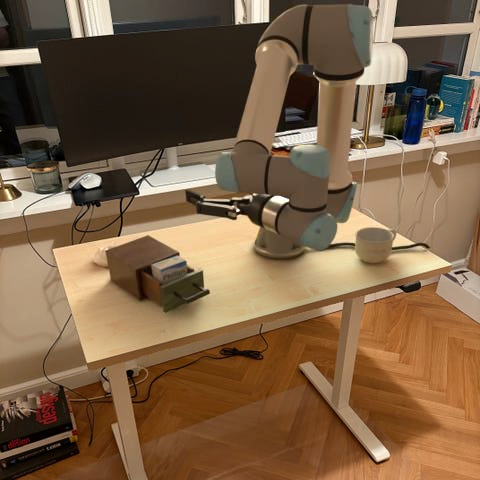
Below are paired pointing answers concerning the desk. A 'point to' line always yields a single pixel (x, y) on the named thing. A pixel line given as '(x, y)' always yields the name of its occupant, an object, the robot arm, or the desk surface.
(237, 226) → the desk surface
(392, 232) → the teacup
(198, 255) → the desk surface
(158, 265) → the medicine box
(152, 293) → the drawer
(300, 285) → the desk surface
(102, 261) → the rose
